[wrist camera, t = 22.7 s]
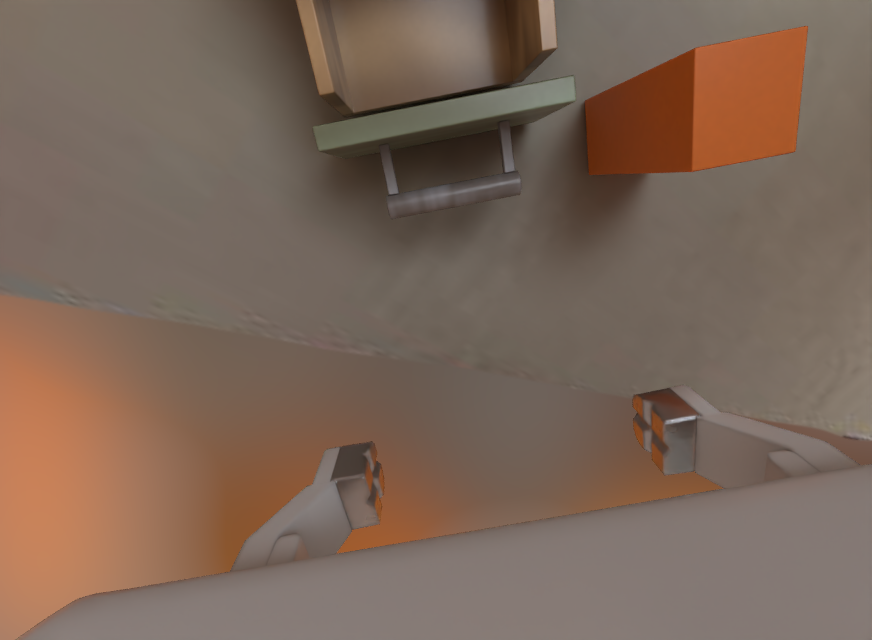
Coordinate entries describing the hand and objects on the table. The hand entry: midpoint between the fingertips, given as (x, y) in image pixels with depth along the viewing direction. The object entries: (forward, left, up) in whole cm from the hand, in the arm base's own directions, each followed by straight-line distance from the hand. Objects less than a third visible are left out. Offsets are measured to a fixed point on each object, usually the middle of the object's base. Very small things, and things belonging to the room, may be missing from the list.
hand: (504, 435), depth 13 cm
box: (-14, -8, -21) cm, 26 cm away
